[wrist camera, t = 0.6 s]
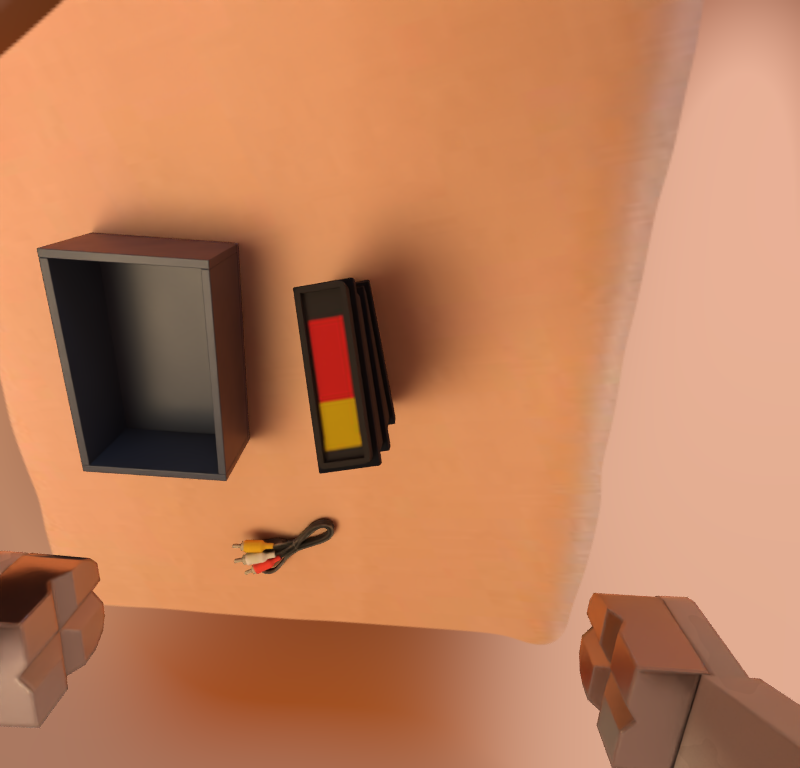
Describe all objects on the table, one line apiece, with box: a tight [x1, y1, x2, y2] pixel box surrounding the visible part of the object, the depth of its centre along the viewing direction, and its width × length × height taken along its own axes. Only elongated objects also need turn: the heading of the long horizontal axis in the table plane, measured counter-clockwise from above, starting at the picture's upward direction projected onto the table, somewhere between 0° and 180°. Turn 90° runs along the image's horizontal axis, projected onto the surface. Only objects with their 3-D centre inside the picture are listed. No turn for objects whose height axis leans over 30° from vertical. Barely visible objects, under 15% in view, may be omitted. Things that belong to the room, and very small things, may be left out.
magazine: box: [293, 278, 395, 473], centre depth 39 cm, size 4×13×15 cm, turn 10°
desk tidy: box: [37, 233, 249, 481], centre depth 42 cm, size 17×11×6 cm, turn 176°
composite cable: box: [232, 520, 334, 575], centre depth 52 cm, size 10×5×2 cm, turn 105°
